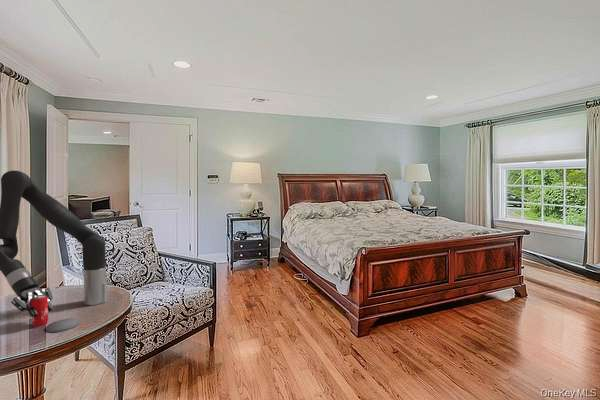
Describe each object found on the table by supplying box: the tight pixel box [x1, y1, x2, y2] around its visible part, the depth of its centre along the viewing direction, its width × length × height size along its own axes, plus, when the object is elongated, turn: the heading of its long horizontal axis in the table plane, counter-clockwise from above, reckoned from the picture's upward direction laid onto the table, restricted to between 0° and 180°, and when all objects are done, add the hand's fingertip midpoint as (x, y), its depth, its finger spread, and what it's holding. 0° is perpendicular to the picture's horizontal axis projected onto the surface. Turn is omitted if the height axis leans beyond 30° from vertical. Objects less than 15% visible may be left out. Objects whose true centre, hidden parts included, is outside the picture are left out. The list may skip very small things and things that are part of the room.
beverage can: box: [31, 294, 49, 328], centre depth 129 cm, size 5×5×12 cm
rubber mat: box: [45, 318, 80, 333], centre depth 129 cm, size 11×11×1 cm
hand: (43, 312), depth 129 cm, fingers open, 5 cm apart
